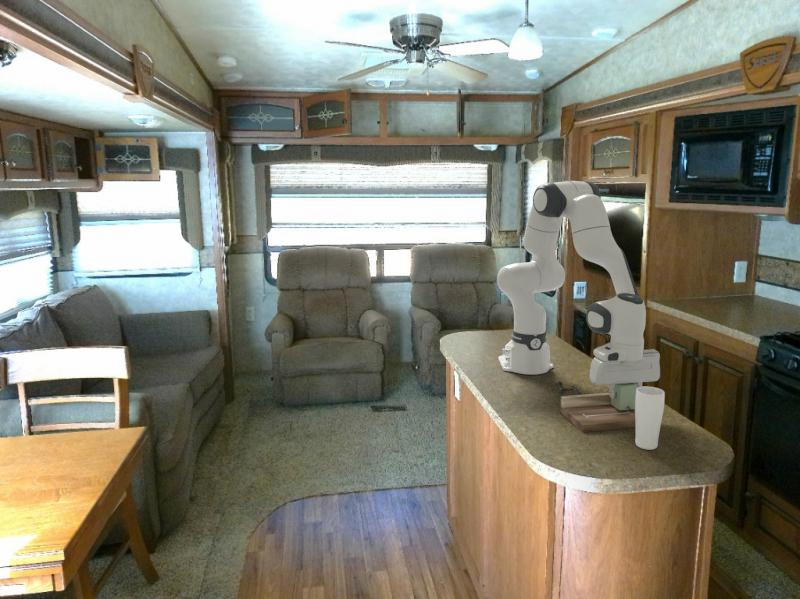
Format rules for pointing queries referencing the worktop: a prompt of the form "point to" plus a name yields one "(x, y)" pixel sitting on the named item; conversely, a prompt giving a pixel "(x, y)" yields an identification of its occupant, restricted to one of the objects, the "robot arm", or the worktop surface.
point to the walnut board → (595, 412)
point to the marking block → (624, 396)
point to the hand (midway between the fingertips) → (623, 396)
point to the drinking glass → (648, 416)
